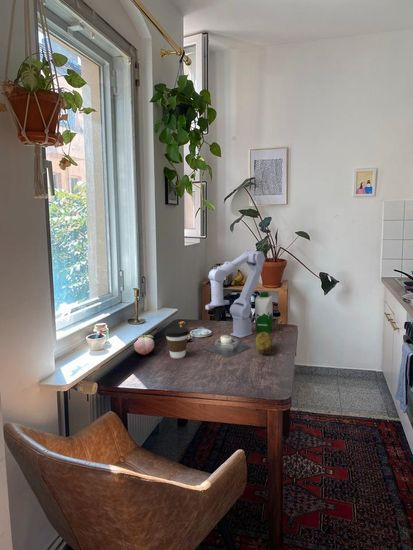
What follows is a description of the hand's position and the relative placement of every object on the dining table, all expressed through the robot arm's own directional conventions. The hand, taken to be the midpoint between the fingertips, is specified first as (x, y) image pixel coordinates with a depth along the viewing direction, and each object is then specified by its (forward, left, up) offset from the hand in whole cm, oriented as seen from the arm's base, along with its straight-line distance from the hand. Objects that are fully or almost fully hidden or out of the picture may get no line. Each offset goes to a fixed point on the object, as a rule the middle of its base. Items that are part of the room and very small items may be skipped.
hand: (218, 321), depth 199 cm
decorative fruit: (+36, -12, -10) cm, 39 cm away
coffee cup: (+27, +1, -10) cm, 29 cm away
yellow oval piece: (-3, +26, -10) cm, 28 cm away
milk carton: (-27, +7, -10) cm, 30 cm away
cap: (+6, +11, -9) cm, 15 cm away
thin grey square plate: (+6, +11, -10) cm, 16 cm away
